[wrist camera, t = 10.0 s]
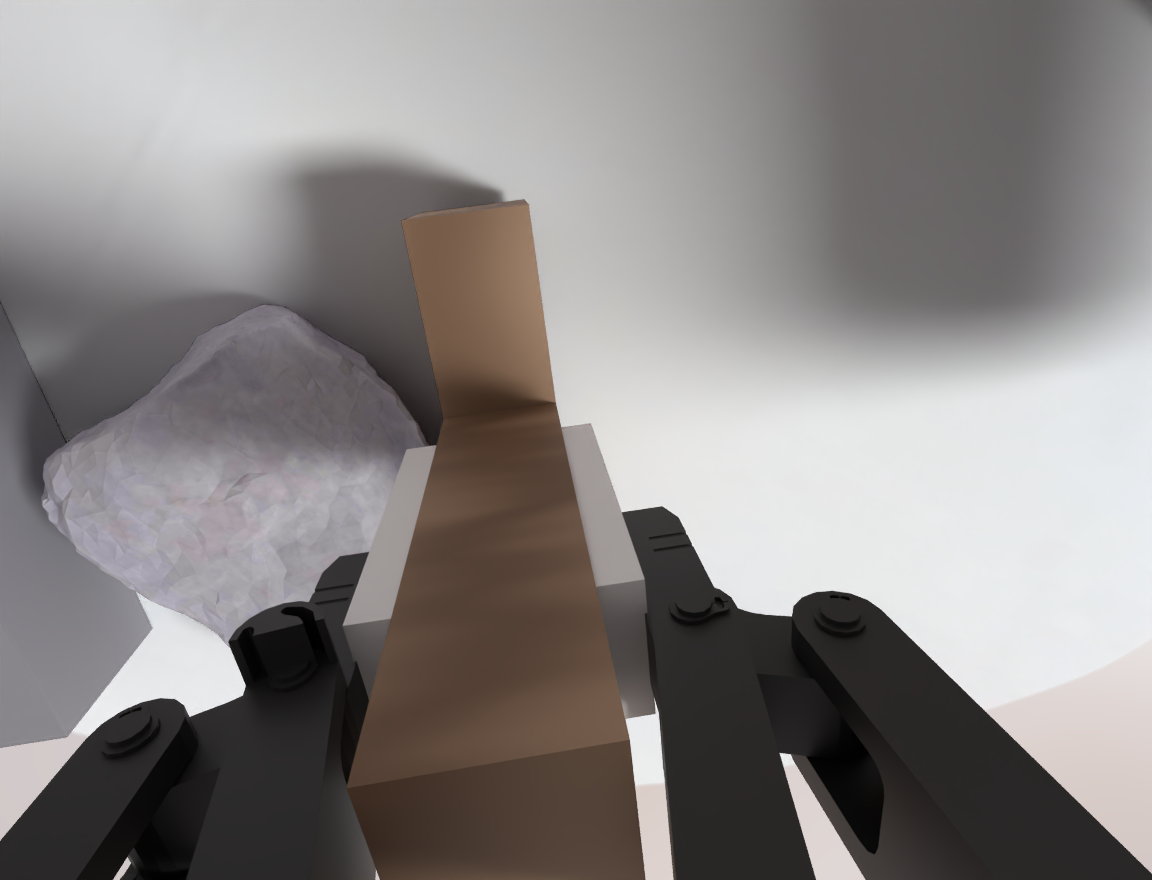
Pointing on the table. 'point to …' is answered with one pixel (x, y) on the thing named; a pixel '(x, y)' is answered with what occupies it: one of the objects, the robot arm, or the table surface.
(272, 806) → the robot arm
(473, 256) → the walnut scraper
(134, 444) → the stone block
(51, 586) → the block
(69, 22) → the table surface
